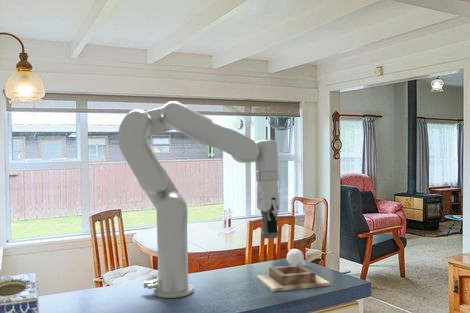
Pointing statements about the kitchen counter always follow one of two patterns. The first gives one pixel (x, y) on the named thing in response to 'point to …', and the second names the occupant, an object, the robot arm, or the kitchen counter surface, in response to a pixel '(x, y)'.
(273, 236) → the stone
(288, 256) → the ornament
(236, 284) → the kitchen counter surface
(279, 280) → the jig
